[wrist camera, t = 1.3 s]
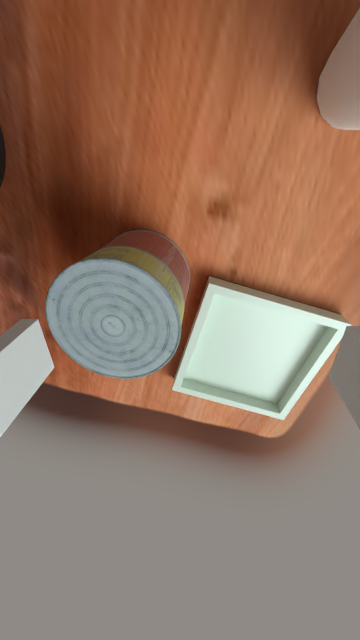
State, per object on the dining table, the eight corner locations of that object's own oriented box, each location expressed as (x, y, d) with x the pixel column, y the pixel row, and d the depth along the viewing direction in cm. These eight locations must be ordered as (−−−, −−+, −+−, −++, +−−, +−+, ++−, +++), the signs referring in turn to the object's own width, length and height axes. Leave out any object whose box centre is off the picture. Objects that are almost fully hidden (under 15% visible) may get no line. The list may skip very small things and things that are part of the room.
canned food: (97, 306, 34) (48, 363, 23) (102, 219, 28) (41, 241, 18) (179, 326, 34) (167, 390, 24) (200, 242, 29) (195, 278, 18)
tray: (174, 378, 39) (172, 389, 37) (209, 276, 30) (209, 283, 28) (279, 407, 39) (283, 419, 37) (341, 314, 31) (351, 324, 29)
